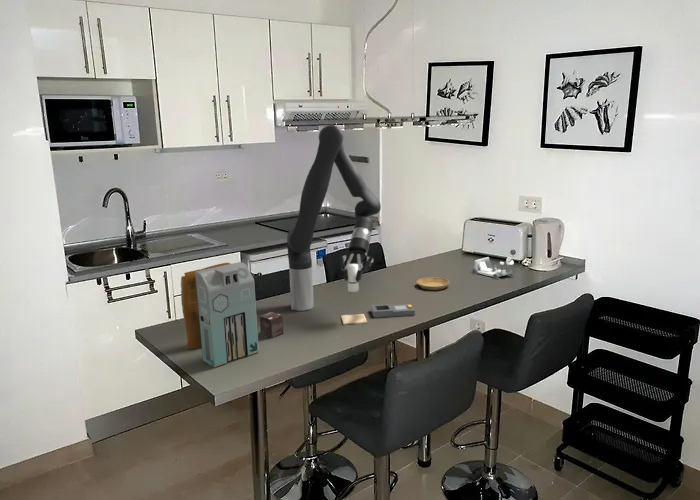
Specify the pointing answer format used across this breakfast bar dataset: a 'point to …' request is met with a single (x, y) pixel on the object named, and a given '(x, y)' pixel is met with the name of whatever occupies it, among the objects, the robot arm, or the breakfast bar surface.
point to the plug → (352, 277)
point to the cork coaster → (354, 319)
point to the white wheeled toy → (491, 268)
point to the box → (271, 324)
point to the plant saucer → (432, 283)
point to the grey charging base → (392, 310)
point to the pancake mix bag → (192, 307)
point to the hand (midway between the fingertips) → (351, 280)
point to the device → (227, 313)
